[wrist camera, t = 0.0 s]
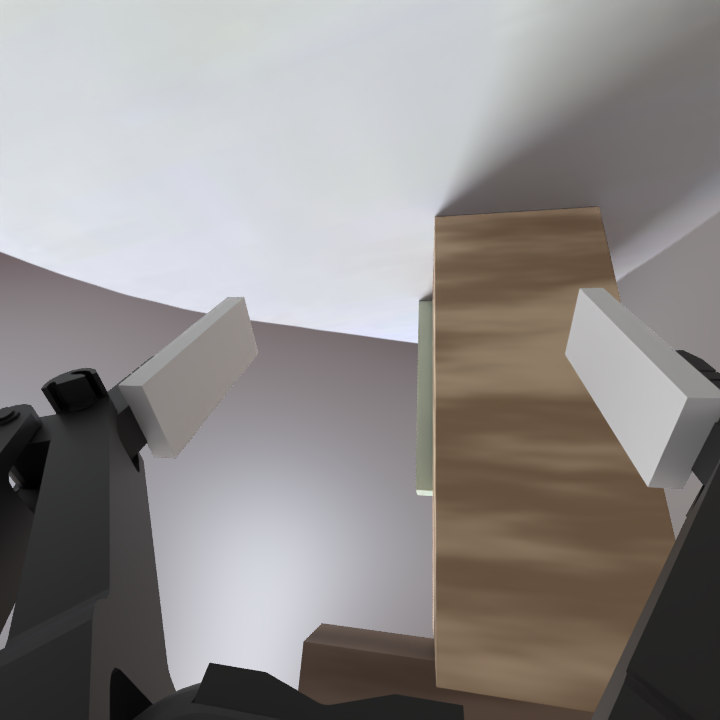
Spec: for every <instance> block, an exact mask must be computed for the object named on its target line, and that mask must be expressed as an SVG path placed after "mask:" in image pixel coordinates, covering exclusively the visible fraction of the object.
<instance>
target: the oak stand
mask: <svg viewBox="0 0 720 720" xmlns="http://www.w3.org/2000/svg"><path fill="white" fill-rule="evenodd" d="M580 288H604V289H605V290H606V291H607V292H608V293H609V294H611V295H612V296H613V297H614V298H615V299H616V300H618V301H619V302H620V303H621V301H620V297H619V292H618V288H617V283H616V279H615V275H614V270H613V266H612V262H611V257H610V253H609V249H608V244H607V240H606V236H605V231H604V227H603V222H602V218H601V214H600V209H599V207H587V208H571V209H555V210H539V211H523V212H507V213H491V214H475V215H459V216H443V217H435V233H434V269H433V635H434V653H435V669H436V686H437V687H439V688H446V689H452V690H458V691H464V692H471V693H477V694H483V695H489V696H495V697H502V698H508V699H514V700H520V701H527V702H533V703H539V704H545V705H552V706H558V707H564V708H570V709H576V710H583V711H589V712H595V710H596V708H597V706H598V704H599V702H600V699H601V697H602V695H603V693H604V691H605V689H606V687H607V685H608V683H609V680H610V678H611V676H612V674H613V672H614V670H615V668H616V666H617V664H618V661H619V659H620V657H621V655H622V653H623V651H624V649H625V647H626V645H627V642H628V640H629V638H630V636H631V634H632V632H633V630H634V628H635V626H636V623H637V621H638V619H639V617H640V615H641V613H642V611H643V609H644V607H645V604H646V602H647V600H648V598H649V596H650V594H651V592H652V590H653V588H654V585H655V583H656V581H657V579H658V577H659V575H660V573H661V571H662V569H663V566H664V564H665V562H666V560H667V558H668V556H669V554H670V552H671V550H672V547H673V545H674V543H675V536H674V532H673V528H672V523H671V519H670V515H669V510H668V506H667V501H666V497H665V493H664V488H654V487H647V485H646V484H645V482H644V480H643V479H642V477H641V476H640V474H639V472H638V471H637V469H636V467H635V466H634V464H633V463H632V461H631V459H630V458H629V456H628V455H627V453H626V451H625V450H624V448H623V447H622V445H621V443H620V442H619V440H618V439H617V437H616V435H615V434H614V432H613V431H612V429H611V427H610V426H609V424H608V423H607V421H606V419H605V418H604V416H603V415H602V413H601V411H600V410H599V408H598V407H597V405H596V403H595V402H594V400H593V398H592V397H591V395H590V394H589V392H588V390H587V389H586V387H585V386H584V384H583V382H582V381H581V379H580V378H579V376H578V374H577V373H576V371H575V370H574V368H573V366H572V365H571V363H570V362H569V360H568V358H567V357H566V355H565V352H566V347H567V343H568V338H569V334H570V329H571V325H572V320H573V316H574V311H575V307H576V302H577V298H578V293H579V289H580Z"/></svg>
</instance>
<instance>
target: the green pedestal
mask: <svg viewBox="0 0 720 720" xmlns="http://www.w3.org/2000/svg"><path fill="white" fill-rule="evenodd" d="M417 393H418V394H417V451H416V453H417V454H416V492H417V495H428V496H433V301H419V328H418V391H417Z"/></svg>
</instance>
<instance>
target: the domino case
mask: <svg viewBox="0 0 720 720" xmlns="http://www.w3.org/2000/svg"><path fill="white" fill-rule="evenodd" d="M298 691H299V692H301V693H303V694H304V695H306V696H308V697H310V698H311V699H313V700H315V701H316V702H318V703H320V704H324V705H333V704H339V703H345V702H350V701H356V700H362V699H368V698H374V697H380V696H386V695H392V694H398V695H404V696H410V697H416V698H422V699H428V700H434V701H440V702H446V703H452V704H458V705H463V708H464V720H591V718H592V716H593V714H594V712H589V711H583V710H576V709H570V708H564V707H558V706H552V705H545V704H539V703H533V702H527V701H520V700H514V699H508V698H502V697H495V696H489V695H483V694H477V693H471V692H464V691H458V690H452V689H446V688H439V687H437V686H436V669H435V653H434V639H431V638H424V637H416V636H410V635H402V634H395V633H388V632H381V631H373V630H366V629H359V628H352V627H344V626H337V625H330V624H321V625H320V626H319V627H318V628H317V629H316V630H315V631H314V632H313V633H312V634H311V635H310V636H309V637H308V638H307V639H306V640H305V641H304V643H303V653H302V661H301V670H300V680H299V689H298Z"/></svg>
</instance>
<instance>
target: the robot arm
mask: <svg viewBox="0 0 720 720" xmlns="http://www.w3.org/2000/svg"><path fill="white" fill-rule="evenodd" d="M257 354H258V350H257V346H256V342H255V338H254V334H253V330H252V327H251V323H250V319H249V315H248V311H247V307H246V303H245V299H244V297H227V298H226V299H225V300H224V301H222V302H221V303H220V304H219V305H217V306H216V307H215V308H214V309H212V310H211V311H210V312H209V313H207V314H206V315H205V316H204V317H202V318H201V319H200V320H199V321H197V322H196V323H195V324H194V325H192V326H191V327H190V328H189V329H187V330H186V331H185V332H184V333H182V334H181V335H180V336H179V337H178V338H176V339H175V340H174V341H172V342H171V343H170V344H169V345H167V346H166V347H165V348H164V349H162V350H161V351H160V352H159V353H157V354H156V355H155V356H153V357H151V358H150V359H148V360H147V361H146V362H144V363H143V364H142V365H141V367H138V368H137V369H136V370H134V371H133V373H132V374H129V375H128V376H127V377H126V378H124V379H123V380H122V381H121V382H119V383H118V384H117V385H116V386H114V387H113V388H112V389H111V390H109V391H108V392H107V391H106V389H105V387H104V385H103V383H102V381H101V379H100V377H99V376H98V374H97V372H96V370H95V369H91V368H82V369H77V370H73V371H69V372H67V373H64V374H61V375H59V376H57V377H55V378H53V379H51V380H50V381H49V382H47V383H46V384H45V385H44V386H43V387H42V389H41V390H42V391H43V393H44V395H45V396H46V398H47V399H48V401H49V402H50V404H51V405H52V407H53V409H54V410H55V412H56V415H50V416H44V417H39V416H38V415H37V413H36V412H35V410H34V409H33V407H32V406H31V405H27V404H22V405H15V406H12V407H6V408H2V409H0V634H1V632H2V629H3V627H4V625H5V623H6V621H7V619H8V617H9V615H10V613H11V610H12V609H13V606H14V604H15V608H14V613H13V617H12V622H11V627H10V631H9V636H8V640H7V643H6V646H5V648H4V649H2V650H0V720H464V708H463V705H458V704H452V703H446V702H440V701H434V700H428V699H422V698H416V697H410V696H404V695H398V694H392V695H386V696H380V697H374V698H368V699H362V700H356V701H350V702H345V703H339V704H333V705H324V704H320V703H318V702H316V701H315V700H313V699H311V698H310V697H308V696H306V695H304V694H303V693H301V692H299V691H297V690H296V689H294V688H292V687H290V686H289V685H287V684H285V683H283V682H282V681H280V680H278V679H277V678H275V677H273V676H272V675H270V674H268V673H266V672H261V671H255V670H249V669H244V668H237V667H232V666H226V665H220V664H214V663H209V665H208V668H207V670H206V672H205V675H204V677H203V680H202V682H201V683H198V684H195V685H192V686H189V687H186V688H183V689H181V690H178V691H176V690H175V688H174V685H173V683H172V680H171V677H170V673H169V670H168V664H167V657H166V648H165V640H164V631H163V623H162V614H161V606H160V597H159V589H158V580H157V572H156V564H155V556H154V547H153V538H152V529H151V521H150V512H149V504H148V496H147V487H146V479H145V470H144V461H143V459H142V457H141V455H140V453H139V451H140V450H141V449H142V447H143V446H145V444H146V443H147V444H148V446H149V448H150V450H151V452H152V454H153V456H154V457H158V458H174V459H176V458H177V456H178V455H179V454H180V453H181V451H182V450H183V449H184V447H185V446H186V445H187V443H188V442H189V441H190V439H192V437H193V436H194V435H195V433H196V432H197V431H198V430H199V428H200V427H201V426H202V424H203V423H204V422H205V421H206V419H207V418H208V417H209V416H210V414H211V413H212V412H213V410H214V409H215V408H216V407H217V405H218V404H219V403H220V402H221V400H222V399H223V398H224V396H225V395H226V394H227V393H228V391H229V390H230V389H231V388H232V386H233V385H234V384H235V382H236V381H237V380H238V378H239V377H240V376H241V375H242V374H243V372H244V371H245V370H246V368H247V367H248V366H249V365H250V363H251V362H252V361H253V359H254V358H255V357H256V356H257ZM565 355H566V357H567V358H568V360H569V362H570V363H571V365H572V366H573V368H574V370H575V371H576V373H577V374H578V376H579V378H580V379H581V381H582V382H583V384H584V386H585V387H586V389H587V390H588V392H589V394H590V395H591V397H592V398H593V400H594V402H595V403H596V405H597V407H598V408H599V410H600V411H601V413H602V415H603V416H604V418H605V419H606V421H607V423H608V424H609V426H610V427H611V429H612V431H613V432H614V434H615V435H616V437H617V439H618V440H619V442H620V443H621V445H622V447H623V448H624V450H625V451H626V453H627V455H628V456H629V458H630V459H631V461H632V463H633V464H634V466H635V467H636V469H637V471H638V472H639V474H640V476H641V477H642V479H643V480H644V482H645V484H646V485H647V487H654V488H671V489H683V488H684V486H685V484H686V482H687V480H688V478H689V476H690V474H691V473H692V471H693V472H694V474H695V475H696V476H697V477H698V479H699V480H700V481H701V483H702V484H703V486H702V487H701V489H700V491H699V493H698V495H697V496H696V498H695V500H694V502H693V504H692V506H691V508H690V509H689V511H688V513H687V515H686V516H687V518H686V520H685V522H684V524H683V526H682V528H681V531H680V533H679V535H678V537H677V539H676V541H675V543H674V545H673V547H672V550H671V552H670V554H669V556H668V558H667V560H666V562H665V564H664V566H663V569H662V571H661V573H660V575H659V577H658V579H657V581H656V583H655V585H654V588H653V590H652V592H651V594H650V596H649V598H648V600H647V602H646V604H645V607H644V609H643V611H642V613H641V615H640V617H639V619H638V621H637V623H636V626H635V628H634V630H633V632H632V634H631V636H630V638H629V640H628V642H627V645H626V647H625V649H624V651H623V653H622V655H621V657H620V659H619V661H618V664H617V666H616V668H615V670H614V672H613V674H612V676H611V678H610V680H609V683H608V685H607V687H606V689H605V691H604V693H603V695H602V697H601V699H600V702H599V704H598V706H597V708H596V710H595V712H594V714H593V716H592V718H591V720H720V373H718V372H716V370H715V369H714V368H712V367H711V366H710V365H709V364H708V363H706V362H705V361H704V360H702V359H701V358H698V357H696V356H694V355H692V354H690V353H688V352H686V351H684V350H674V349H673V348H671V347H670V346H669V345H668V344H667V343H666V342H664V341H663V340H662V339H661V338H660V337H659V336H658V335H656V334H655V333H654V332H653V331H652V330H651V329H650V328H648V327H647V326H646V325H645V324H644V323H643V322H642V321H640V320H639V319H638V318H637V317H636V316H635V315H633V314H632V313H631V312H630V311H629V310H628V309H627V308H625V307H624V306H623V305H622V304H621V303H620V302H619V301H618V300H616V299H615V298H614V297H613V296H612V295H611V294H609V293H608V292H607V291H606V290H605V289H604V288H580V289H579V293H578V298H577V302H576V307H575V311H574V316H573V320H572V325H571V329H570V334H569V338H568V343H567V347H566V352H565ZM9 476H10V477H11V478H12V480H13V481H14V482H15V483H16V484H15V486H14V488H12V486H11V484H10V483H9ZM15 602H16V603H15Z"/></svg>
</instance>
